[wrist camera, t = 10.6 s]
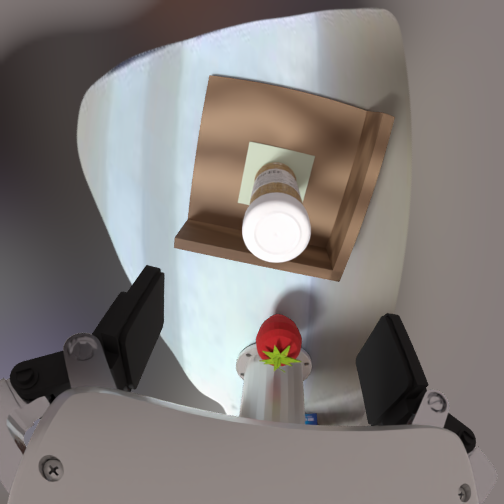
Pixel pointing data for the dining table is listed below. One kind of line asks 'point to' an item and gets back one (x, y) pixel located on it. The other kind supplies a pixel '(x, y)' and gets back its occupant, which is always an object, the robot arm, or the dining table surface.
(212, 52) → the dining table surface
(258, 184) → the sprinkles bottle
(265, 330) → the strawberry
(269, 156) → the sage pad
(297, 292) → the dining table surface
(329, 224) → the tray
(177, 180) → the dining table surface
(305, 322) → the dining table surface
